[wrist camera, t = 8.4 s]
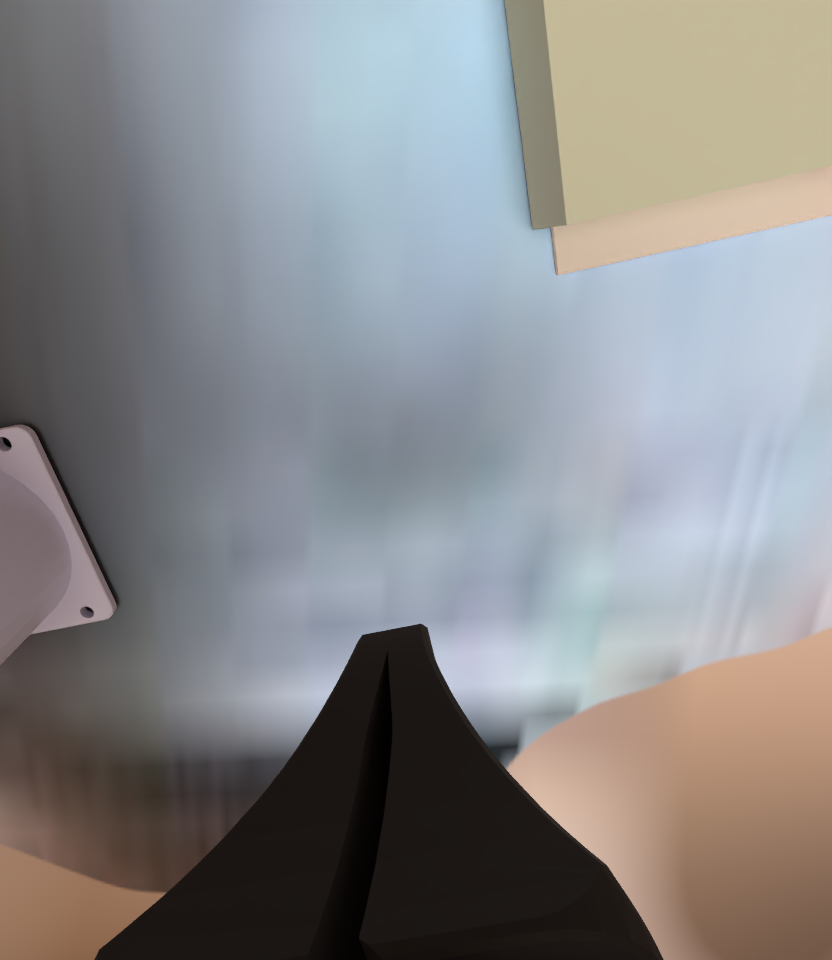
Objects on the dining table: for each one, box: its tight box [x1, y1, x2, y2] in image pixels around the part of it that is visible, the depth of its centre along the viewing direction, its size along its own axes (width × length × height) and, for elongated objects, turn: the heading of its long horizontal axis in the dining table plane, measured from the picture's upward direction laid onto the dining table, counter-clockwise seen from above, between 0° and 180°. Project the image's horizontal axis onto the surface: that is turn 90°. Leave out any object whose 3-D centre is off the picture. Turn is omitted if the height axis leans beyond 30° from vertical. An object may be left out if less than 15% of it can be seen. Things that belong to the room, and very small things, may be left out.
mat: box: [551, 166, 832, 275], centre depth 17 cm, size 12×10×1 cm
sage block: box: [504, 0, 832, 230], centre depth 15 cm, size 4×7×9 cm
